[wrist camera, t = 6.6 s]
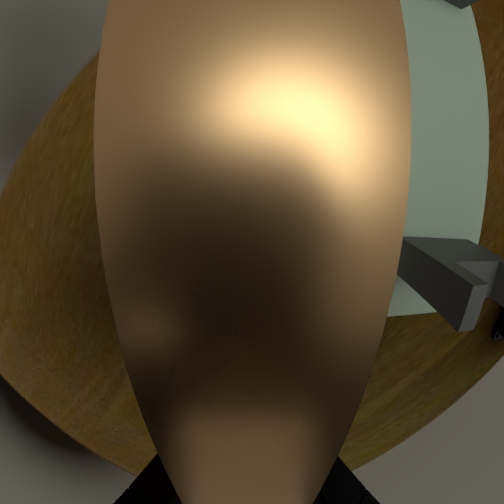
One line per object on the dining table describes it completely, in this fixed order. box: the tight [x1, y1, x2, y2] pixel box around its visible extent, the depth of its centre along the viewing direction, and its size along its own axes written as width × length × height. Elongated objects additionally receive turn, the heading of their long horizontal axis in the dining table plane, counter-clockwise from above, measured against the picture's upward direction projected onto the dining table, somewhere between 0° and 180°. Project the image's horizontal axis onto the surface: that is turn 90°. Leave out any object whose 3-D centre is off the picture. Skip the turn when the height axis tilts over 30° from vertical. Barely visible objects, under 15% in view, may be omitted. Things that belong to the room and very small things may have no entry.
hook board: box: [387, 0, 504, 332], centre depth 9 cm, size 26×8×8 cm, turn 179°
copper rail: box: [94, 0, 412, 504], centre depth 6 cm, size 24×3×3 cm, turn 179°
